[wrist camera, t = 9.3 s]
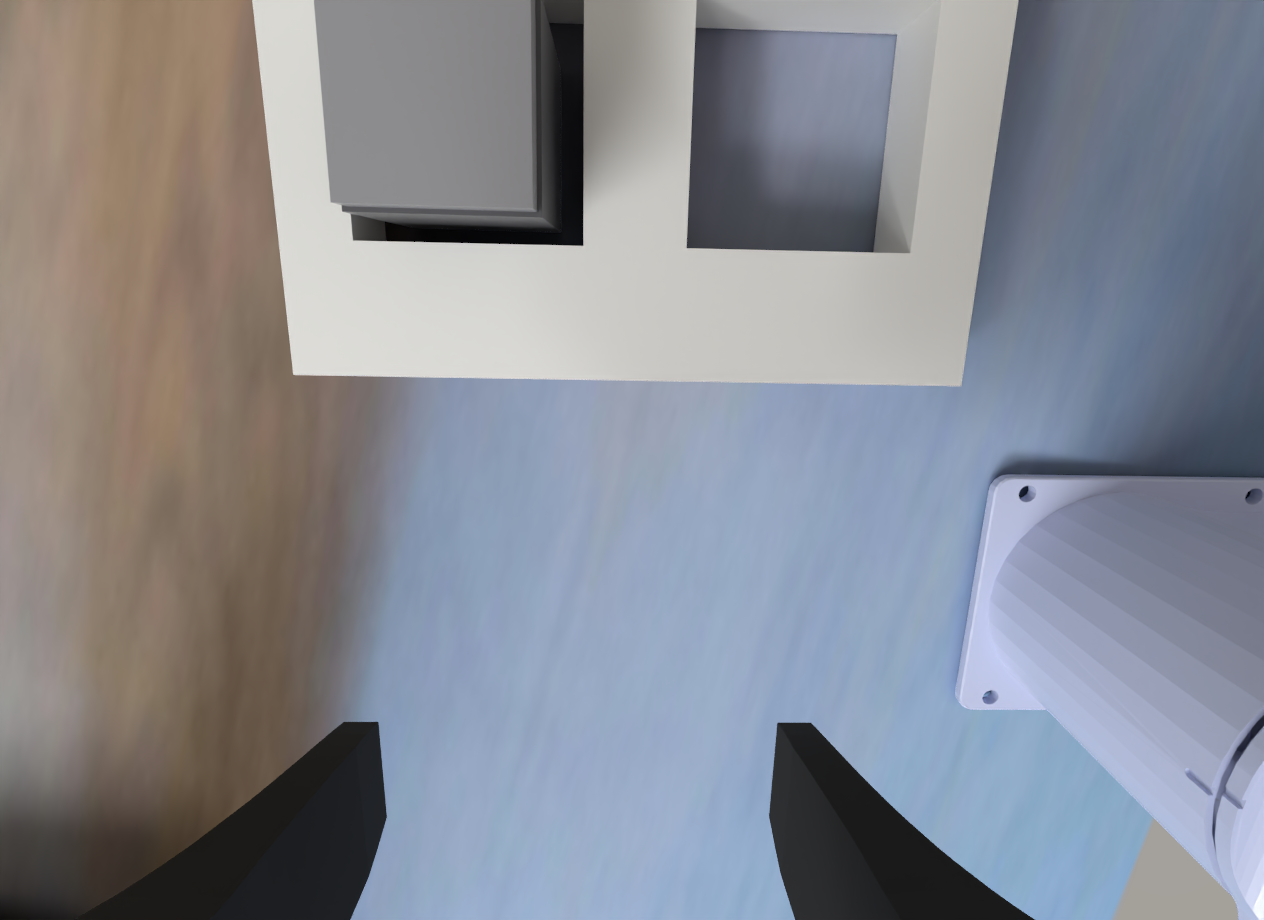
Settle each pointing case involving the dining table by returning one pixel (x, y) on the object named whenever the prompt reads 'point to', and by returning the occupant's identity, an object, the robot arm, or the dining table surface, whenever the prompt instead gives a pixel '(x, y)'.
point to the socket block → (658, 221)
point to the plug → (442, 112)
